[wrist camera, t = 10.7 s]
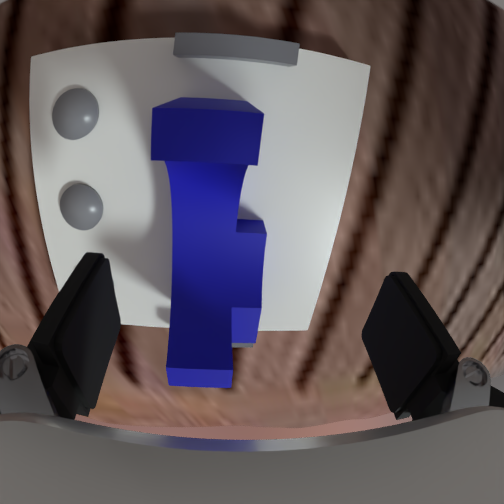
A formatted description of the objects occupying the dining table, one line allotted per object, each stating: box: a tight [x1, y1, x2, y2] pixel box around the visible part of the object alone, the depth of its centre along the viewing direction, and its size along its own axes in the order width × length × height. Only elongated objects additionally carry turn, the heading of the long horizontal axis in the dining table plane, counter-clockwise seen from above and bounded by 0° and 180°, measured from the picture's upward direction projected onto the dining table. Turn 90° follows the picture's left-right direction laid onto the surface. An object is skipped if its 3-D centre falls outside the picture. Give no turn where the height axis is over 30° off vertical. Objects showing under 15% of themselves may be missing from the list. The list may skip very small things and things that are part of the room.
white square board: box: [29, 33, 370, 347], centre depth 15 cm, size 17×17×4 cm
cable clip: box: [151, 97, 267, 388], centre depth 13 cm, size 12×4×6 cm, turn 174°
